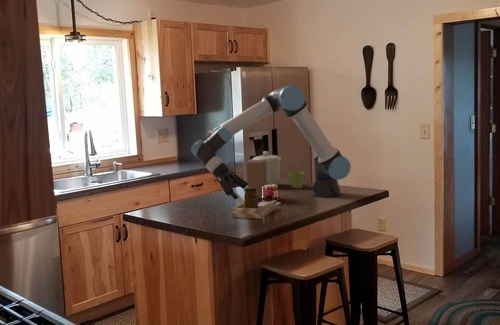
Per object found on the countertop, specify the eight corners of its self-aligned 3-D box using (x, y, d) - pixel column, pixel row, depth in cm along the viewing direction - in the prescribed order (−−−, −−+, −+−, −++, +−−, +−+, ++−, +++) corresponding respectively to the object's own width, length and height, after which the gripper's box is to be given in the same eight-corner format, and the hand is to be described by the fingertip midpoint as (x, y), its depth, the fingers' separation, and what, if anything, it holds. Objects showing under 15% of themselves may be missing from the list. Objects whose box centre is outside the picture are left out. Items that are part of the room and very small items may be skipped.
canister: (246, 187, 312) (244, 152, 309) (266, 182, 325) (264, 149, 322) (269, 189, 300) (267, 153, 297) (288, 184, 313) (287, 149, 310)
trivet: (280, 203, 260) (280, 202, 260) (273, 207, 251) (273, 206, 250) (262, 202, 264) (261, 201, 264) (254, 206, 254) (254, 205, 254)
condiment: (255, 211, 244) (253, 186, 243) (263, 214, 237) (262, 189, 235) (241, 213, 241) (239, 188, 240) (249, 217, 234) (247, 191, 232)
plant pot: (307, 186, 303) (306, 171, 302) (302, 189, 295) (301, 174, 294) (292, 186, 307) (291, 171, 306) (286, 189, 299) (286, 174, 297)
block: (268, 195, 282) (266, 159, 279) (266, 199, 272) (264, 161, 269) (249, 196, 283) (247, 159, 280) (247, 199, 273) (245, 162, 270)
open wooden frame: (276, 208, 248) (276, 200, 248) (260, 218, 230) (260, 209, 229) (249, 207, 254) (249, 199, 253) (232, 217, 235) (231, 208, 235)
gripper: (224, 169, 255) (254, 200, 251) (200, 177, 232) (232, 211, 228) (233, 158, 252) (263, 189, 248) (209, 165, 229) (242, 200, 225)
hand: (248, 200), depth 238 cm, fingers open, 13 cm apart
